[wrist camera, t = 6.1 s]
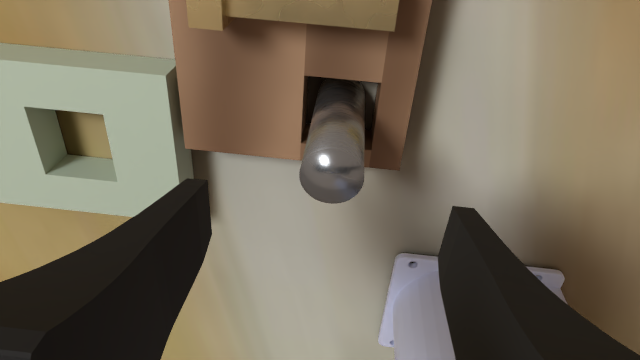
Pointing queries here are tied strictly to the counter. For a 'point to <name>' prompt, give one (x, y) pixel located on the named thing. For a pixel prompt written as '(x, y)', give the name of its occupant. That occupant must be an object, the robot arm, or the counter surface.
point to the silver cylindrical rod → (335, 142)
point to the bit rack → (120, 120)
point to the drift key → (295, 12)
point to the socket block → (292, 81)
